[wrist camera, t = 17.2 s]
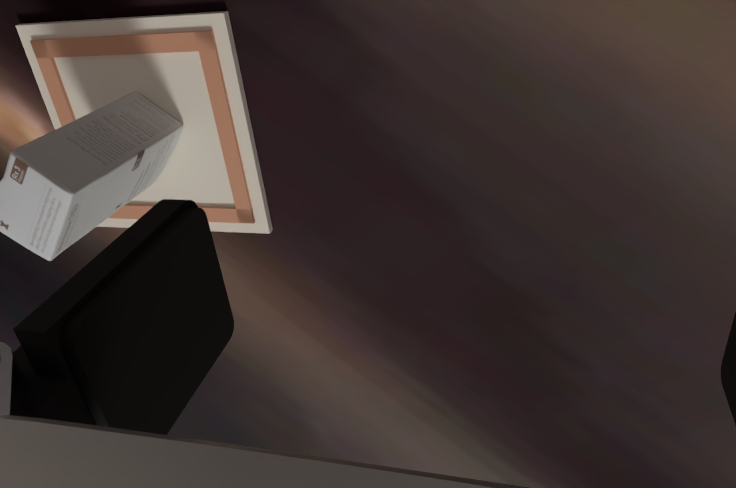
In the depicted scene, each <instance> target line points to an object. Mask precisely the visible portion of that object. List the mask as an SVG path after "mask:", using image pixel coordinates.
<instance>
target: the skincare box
mask: <svg viewBox="0 0 736 488" xmlns="http://www.w3.org/2000/svg"><path fill="white" fill-rule="evenodd" d="M182 129H183V125H182V123H181V122H179V121H178V120H176V119H175V118H174V117H173V116H171V115H170V114H169V113H167V112H166V111H164V110H163V109H161V108H160V107H159V106H157V105H156V104H154V103H153V102H152V101H150V100H148V99H147V98H146V97H144V96H142V95H141V94H139V93H138V92H132V93H130V94H128V95H126V96H124V97H122V98H120V99H118V100H116V101H114V102H112V103H110V104H108V105H106V106H104V107H102V108H99V109H97V110H95V111H93V112H91V113H89V114H87V115H85V116H83V117H81V118H79V119H77V120H75V121H73V122H71V123H69V124H66V125H64V126H62V127H60V128H58V129H56V130H54V131H52V132H50V133H48V134H46V135H44V136H42V137H39V138H37V139H35V140H33V141H31V142H29V143H27V144H25V145H23V146H21V147H19V148H17V149H15V150H13V151H11V152H10V156H9V159H8V163H7V166H6V170H5V174H4V177H3V179H2V180H1V182H0V232H2V233H3V234H5V235H6V236H8V237H10V238H11V239H13V240H15V241H16V242H18V243H19V244H21V245H23V246H24V247H26V248H27V249H29V250H31V251H32V252H34V253H36V254H37V255H39V256H41V257H43V258H44V259H46V260H48V261H52V260H53V259H54V258H55V257H56V256H57V255H59V254H60V253H61V252H63V251H64V250H65V249H66V248H68V247H69V246H71V245H72V244H73V243H75V242H76V241H77V240H79V239H80V238H81V237H83V236H84V235H86V234H87V233H88V232H90V231H91V230H92V229H94V228H95V227H96V226H98V225H99V224H100V223H102V222H103V221H104V220H106V219H107V218H108V217H110V216H111V215H112V214H114V213H115V212H116V211H118V210H119V209H120V208H121V207H123V206H124V205H125V204H127V203H128V202H130V201H131V200H132V199H134V198H135V197H136V196H138V195H139V194H140V193H142V192H143V191H144V190H146V189H147V188H148V187H150V186H151V185H152V184H154V183H155V182H156V181H157V179H158V178H159V176H160V175H161V173H162V171H163V170H164V168H165V166H166V164H167V162H168V160H169V158H170V156H171V154H172V152H173V150H174V148H175V146H176V144H177V141H178V139H179V137H180V135H181V132H182Z"/></svg>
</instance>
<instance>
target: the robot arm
mask: <svg viewBox="0 0 736 488" xmlns="http://www.w3.org/2000/svg"><path fill="white" fill-rule="evenodd" d="M233 329H234V320H233V315H232V311H231V308H230V304H229V300H228V296H227V292H226V288H225V285H224V281H223V277H222V273H221V269H220V265H219V261H218V258H217V254H216V250H215V246H214V242H213V238H212V234H211V231H210V227H209V223H208V219H207V216H206V213H205V211H204V210H203V209H202V208H198V206H197V204H196V203H195V202H194V201H192V200H174V199H163V200H161V201H159V202H158V203H157V204H156V205H154V206H153V207H152V208H151V209H150V210H149V211H148V212H146V213H145V214H144V215H143V216H142V217H141V218H140V219H138V220H137V221H136V222H135V223H134V224H133V225H132V226H130V227H129V228H128V229H127V230H126V231H125V232H124V233H122V234H121V235H120V236H119V237H118V238H117V239H116V240H114V241H113V242H112V243H111V244H110V245H109V246H108V247H106V248H105V249H104V250H103V251H102V252H101V253H100V254H98V255H97V256H96V257H95V258H94V259H93V260H92V261H90V262H89V263H88V264H87V265H86V266H85V267H84V268H82V269H81V270H80V271H79V272H78V273H77V274H76V275H74V276H73V277H72V278H71V279H70V280H69V281H68V282H66V283H65V284H64V285H63V286H62V287H61V288H60V289H58V290H57V291H56V292H55V293H54V294H53V295H52V296H50V297H49V298H48V299H47V300H46V301H45V302H44V303H42V304H41V305H40V306H39V307H38V308H37V309H36V310H34V311H33V312H32V313H31V314H30V315H29V316H28V317H26V318H25V319H24V320H23V321H22V322H21V323H20V324H18V325H17V326H16V327H15V328H14V329H13V330H14V332H15V334H16V336H17V338H18V340H19V342H20V344H21V346H20V347H19V348H18V349H17V350H16V351H15V352H12V350H11V348H10V347H9V346H7V345H6V344H5V343H1V342H0V488H528V487H521V486H515V485H508V484H501V483H495V482H488V481H481V480H475V479H468V478H461V477H455V476H448V475H441V474H434V473H428V472H421V471H414V470H407V469H400V468H393V467H387V466H380V465H373V464H366V463H359V462H352V461H345V460H339V459H332V458H325V457H318V456H311V455H304V454H297V453H290V452H283V451H276V450H269V449H262V448H255V447H248V446H241V445H234V444H227V443H220V442H212V441H205V440H198V439H191V438H184V437H176V436H169V435H167V433H168V432H169V430H170V429H171V427H172V426H173V424H174V423H175V421H176V420H177V418H178V417H179V415H180V414H181V412H182V411H183V409H184V408H185V406H186V405H187V403H188V402H189V400H190V399H191V397H192V396H193V394H194V393H195V391H196V390H197V388H198V387H199V385H200V384H201V382H202V381H203V379H204V378H205V376H206V375H207V373H208V372H209V370H210V369H211V367H212V366H213V364H214V363H215V361H216V360H217V358H218V357H219V355H220V354H221V352H222V351H223V349H224V348H225V346H226V344H227V343H228V341H229V340H230V338H231V336H232V333H233ZM721 380H722V385H723V389H724V392H725V395H726V398H727V401H728V404H729V407H730V409H731V412H732V415H733V418H734V421H735V424H736V313H735V316H734V320H733V324H732V327H731V331H730V335H729V338H728V342H727V345H726V349H725V353H724V356H723V360H722V365H721Z"/></svg>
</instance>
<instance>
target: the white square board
mask: <svg viewBox="0 0 736 488" xmlns="http://www.w3.org/2000/svg"><path fill="white" fill-rule="evenodd" d="M16 28H17V31H18V34H19V36H20V39H21V42H22V44H23V47H24V49H25V52H26V55H27V57H28V60H29V63H30V65H31V68H32V71H33V73H34V76H35V78H36V81H37V84H38V86H39V89H40V92H41V94H42V97H43V100H44V102H45V105H46V107H47V110H48V113H49V115H50V118H51V121H52V123H53V126H54V129H55V130H56V129H58V128H60V127H62V126H64V125H66V124H69V123H71V122H73V121H75V120H77V119H79V118H81V117H83V116H85V115H87V114H89V113H91V112H93V111H95V110H97V109H99V108H102V107H104V106H106V105H108V104H110V103H112V102H114V101H116V100H118V99H120V98H122V97H124V96H126V95H128V94H130V93H132V92H138V93H139V94H141V95H142V96H144V97H146V98H147V99H148V100H150V101H152V102H153V103H154V104H156V105H157V106H159V107H160V108H161V109H163V110H164V111H166V112H167V113H169V114H170V115H171V116H173V117H174V118H175V119H176V120H178V121H179V122H181V123H182V125H183V129H182V132H181V135H180V137H179V139H178V141H177V144H176V146H175V148H174V150H173V152H172V154H171V156H170V158H169V160H168V162H167V164H166V166H165V168H164V170H163V171H162V173H161V175H160V176H159V178H158V179H157V181H156V182H155V183H154V184H152V185H151V186H150V187H148V188H147V189H146V190H144V191H143V192H142V193H140V194H139V195H138V196H136V197H135V198H134V199H132V200H131V201H130V202H128V203H127V204H125V205H124V206H123V207H121V208H120V209H119V210H118V211H116V212H115V213H114V214H112V215H111V216H110V217H108V218H107V219H106V220H104V221H103V222H102V223H100V224H99V225H98V226H100V227H124V228H129V227H130V226H132V225H133V224H134V223H135V222H136V221H137V220H138V219H140V218H141V217H142V216H143V215H144V214H145V213H146V212H148V211H149V210H150V209H151V208H152V207H153V206H154V205H156V204H157V203H158V202H159V201H161V200H163V199H174V200H192V201H194V202H195V203H196V204H197V206H198V208H202V209H203V210H204V211H205V213H206V216H207V219H208V223H209V227H210V231H220V232H244V233H268V234H270V233H271V231H272V230H273V228H272V223H271V219H270V214H269V209H268V204H267V199H266V194H265V189H264V184H263V180H262V175H261V170H260V165H259V160H258V155H257V150H256V145H255V141H254V136H253V131H252V126H251V121H250V116H249V111H248V106H247V101H246V97H245V92H244V87H243V82H242V77H241V72H240V67H239V62H238V58H237V53H236V48H235V43H234V38H233V33H232V28H231V23H230V19H229V14H228V11H220V12H204V13H188V14H172V15H156V16H139V17H123V18H107V19H91V20H75V21H58V22H42V23H26V24H19V25H16Z"/></svg>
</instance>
